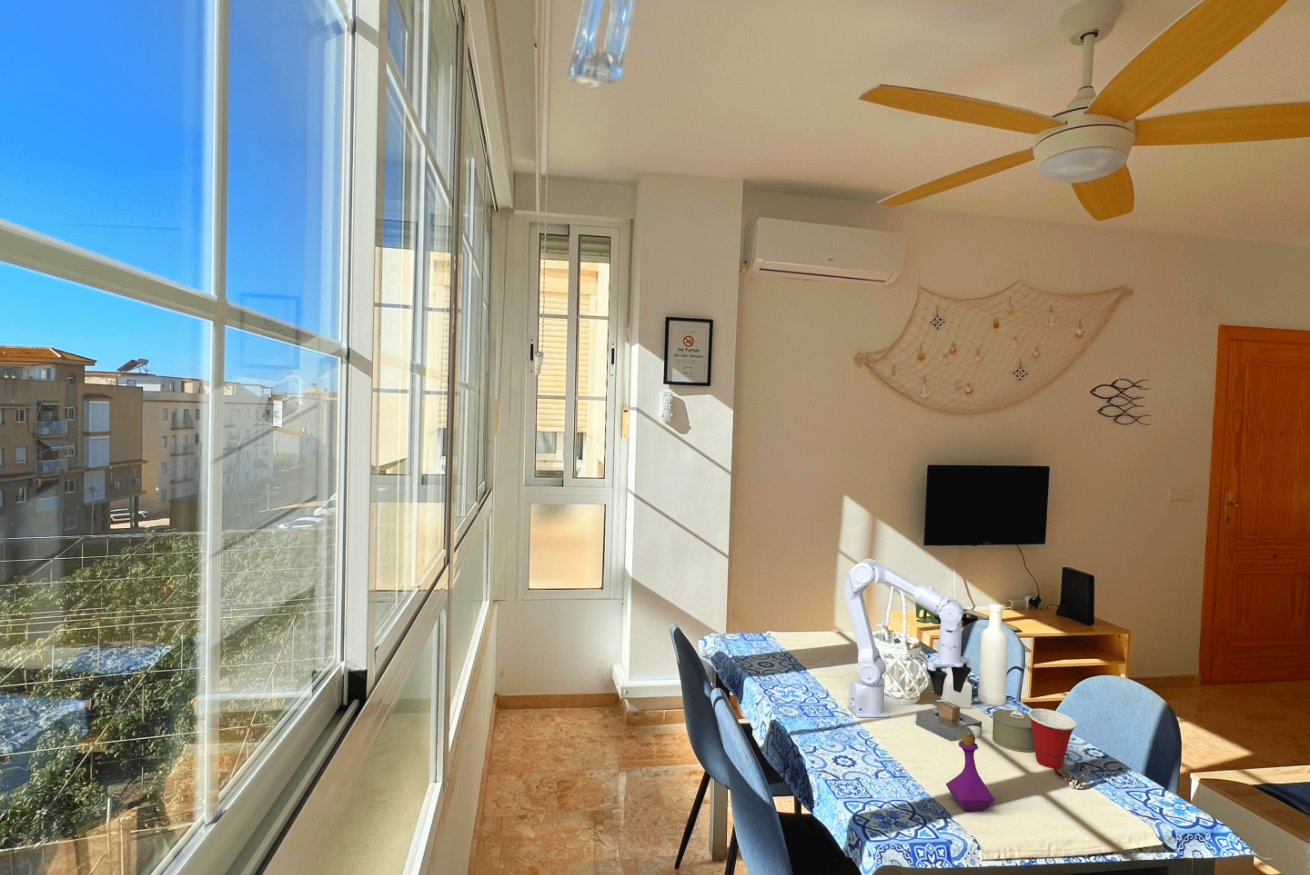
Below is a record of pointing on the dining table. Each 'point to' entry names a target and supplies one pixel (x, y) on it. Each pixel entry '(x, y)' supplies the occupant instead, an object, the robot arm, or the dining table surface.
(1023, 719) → the can
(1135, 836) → the dining table surface
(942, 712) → the peg
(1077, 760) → the dining table surface
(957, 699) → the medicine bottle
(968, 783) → the perfume bottle
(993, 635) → the bottle
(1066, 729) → the plastic cup
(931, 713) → the block with rectangular hole
